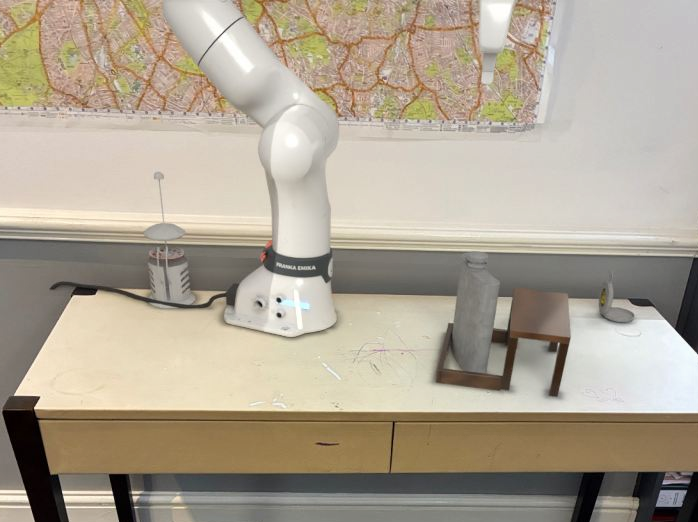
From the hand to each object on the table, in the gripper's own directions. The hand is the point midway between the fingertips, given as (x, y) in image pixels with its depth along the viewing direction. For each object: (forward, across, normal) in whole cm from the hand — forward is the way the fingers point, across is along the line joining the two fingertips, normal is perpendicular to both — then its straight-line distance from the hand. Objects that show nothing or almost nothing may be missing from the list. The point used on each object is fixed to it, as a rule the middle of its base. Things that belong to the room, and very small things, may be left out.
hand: (487, 78), depth 126 cm
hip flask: (+46, +8, +2) cm, 46 cm away
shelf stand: (+45, +8, +10) cm, 47 cm away
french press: (+46, -5, -59) cm, 75 cm away
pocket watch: (+46, -20, +33) cm, 60 cm away
